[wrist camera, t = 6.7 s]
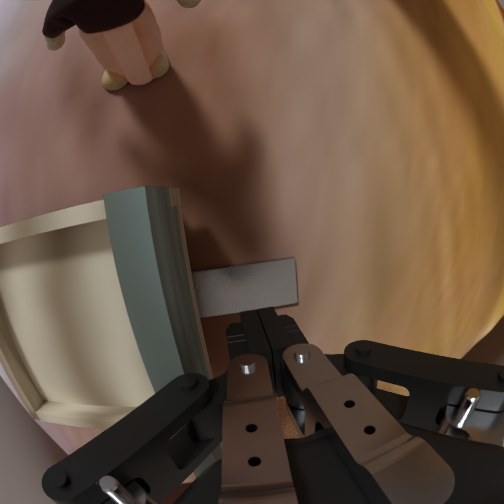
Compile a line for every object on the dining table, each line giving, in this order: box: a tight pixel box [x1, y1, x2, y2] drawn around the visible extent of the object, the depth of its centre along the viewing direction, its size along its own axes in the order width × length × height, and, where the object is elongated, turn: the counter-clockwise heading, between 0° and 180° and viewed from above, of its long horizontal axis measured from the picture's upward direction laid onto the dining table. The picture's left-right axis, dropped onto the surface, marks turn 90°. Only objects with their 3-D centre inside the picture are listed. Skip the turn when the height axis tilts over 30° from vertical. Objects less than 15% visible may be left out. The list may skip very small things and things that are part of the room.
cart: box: [0, 186, 222, 478], centre depth 12 cm, size 14×13×9 cm
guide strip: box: [191, 257, 298, 318], centre depth 16 cm, size 26×3×1 cm, turn 97°
